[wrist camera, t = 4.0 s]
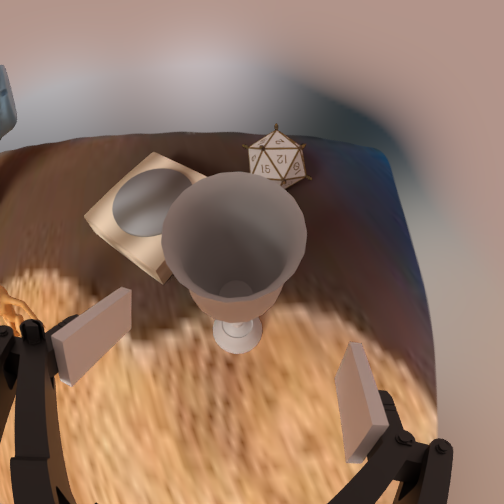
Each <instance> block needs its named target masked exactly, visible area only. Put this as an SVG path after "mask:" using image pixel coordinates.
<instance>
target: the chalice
mask: <svg viewBox="0 0 504 504" xmlns="http://www.w3.org/2000/svg"><path fill="white" fill-rule="evenodd" d="M306 238H307V230H306V225H305V220H304V216H303V213H302V211H301V209H300V208H299V206H298V204H297V203H296V201H295V199H294V198H293V197H292V196H291V195H290V194H289V193H288V192H287V191H286V190H285V189H284V188H282V187H281V186H280V185H279V184H277V183H275V182H273V181H271V180H269V179H267V178H265V177H263V176H261V175H256V174H251V173H245V172H227V173H219V174H216V175H213V176H209V177H206V178H203V179H201V180H199V181H198V182H196V183H194V184H193V185H191V186H190V187H188V188H187V189H185V190H184V191H183V192H182V193H181V194H180V196H179V197H178V198H177V199H176V200H175V201H174V202H173V204H172V205H171V206H170V209H169V211H168V213H167V215H166V218H165V220H164V222H163V228H162V238H161V245H162V249H163V253H164V257H165V261H166V264H167V265H168V267H169V268H170V270H171V271H172V273H173V274H174V276H175V277H176V278H177V280H178V281H179V282H180V283H181V284H183V285H184V286H185V287H187V288H188V289H189V291H190V294H191V296H192V298H193V300H194V301H195V302H196V304H197V305H198V306H199V308H200V309H201V310H202V311H203V312H205V313H206V314H208V315H209V316H211V317H212V318H214V319H215V321H214V325H213V336H214V338H215V341H216V343H217V344H218V345H219V346H220V347H221V348H222V349H224V350H225V351H227V352H230V353H234V354H240V353H245V352H248V351H250V350H252V349H253V348H254V347H255V346H256V345H257V344H258V342H259V341H260V339H261V336H262V324H261V321H260V319H259V316H261V315H263V314H264V313H265V312H266V311H267V310H268V309H269V308H270V307H271V306H272V305H274V303H275V301H276V299H277V297H278V296H279V294H280V292H281V289H282V286H283V283H284V282H286V281H287V280H288V279H289V278H290V277H291V276H292V275H293V274H294V273H295V271H296V269H297V267H298V265H299V263H300V261H301V259H302V257H303V255H304V253H305V246H306Z"/></svg>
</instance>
